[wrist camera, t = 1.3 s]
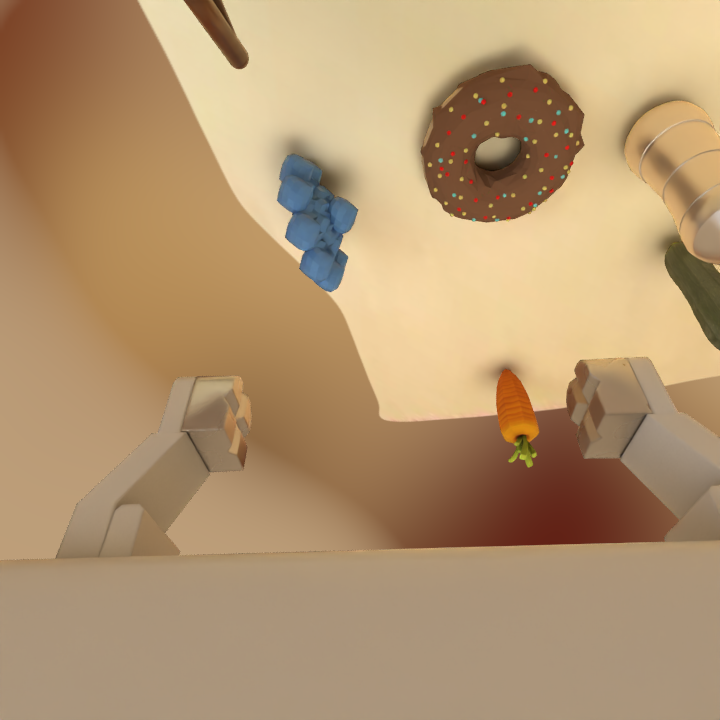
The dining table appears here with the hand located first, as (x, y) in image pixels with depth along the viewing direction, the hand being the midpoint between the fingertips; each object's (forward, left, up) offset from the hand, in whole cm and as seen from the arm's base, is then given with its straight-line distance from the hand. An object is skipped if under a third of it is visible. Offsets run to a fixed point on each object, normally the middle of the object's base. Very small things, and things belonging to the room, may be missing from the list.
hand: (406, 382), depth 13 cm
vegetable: (+15, +38, -39) cm, 56 cm away
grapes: (+18, 0, -39) cm, 43 cm away
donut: (+9, +14, -39) cm, 42 cm away
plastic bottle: (+5, +28, -39) cm, 48 cm away
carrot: (+40, +30, -39) cm, 63 cm away
